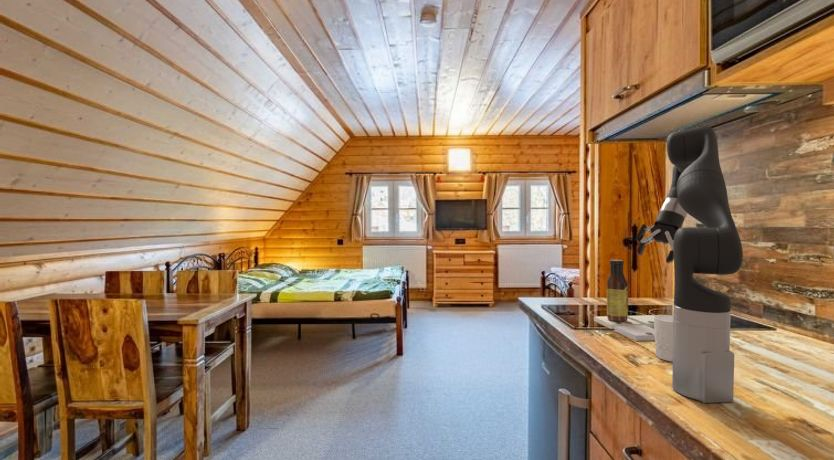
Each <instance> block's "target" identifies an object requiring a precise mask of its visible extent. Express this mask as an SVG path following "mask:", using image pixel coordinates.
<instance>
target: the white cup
mask: <svg viewBox="0 0 834 460" xmlns="http://www.w3.org/2000/svg"><path fill="white" fill-rule="evenodd" d="M673 319H674V315H672V314H656V315H655V316H654V328H653V329H654V335H655V340H654V346H655V356H656V357H657V358H658V359H661V360H662V361H663V360H664V361H666V362H670V363H673Z"/></svg>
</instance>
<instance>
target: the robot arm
mask: <svg viewBox="0 0 834 460" xmlns="http://www.w3.org/2000/svg"><path fill="white" fill-rule="evenodd" d="M718 144H719V143H718V138H717V134H716V132H715V130H714V128H713V127H711V126H709V125H707V126H706V125H705V126H704V125H703V126H697V127H691V128H687V129H683V130H678V131H674V132H672V133H670V134H669V135H668V136H667V140H666V152H667V157H668V160H669V162H670V163H671V164H672V165H673V167H672V173H671V175H672V176H671V177H672V179H671V185H670V189H669V190H668V194H667V196H666V197H665V200H664V202H663V203H662V205H661V207H660V209H659V211H658V214H657V216H656V218H655V221H654V223H653V225H652V226H648V225H646V224H645V223H644V224H643V223H642V224H641V226H640V227H639V228H640V229H639V231H638V233H636V236H635V240H636V242H637V243H639V245H638V246H637V249H636V252H637V254H638V256H642V255H643V254H644V250H645V249H646V245H648V244H650V243H653V242H654V241H655V242H657V243H661V244H665V245H667V244H669V246H670V248H671V249H670V250H669V253H668V254H667V257H666V259H665V261H666V263H667V264H670V263H672V262H673V270H674V274H673V275H674V292H673V293H674V294H673V316H674V319H673V362H672V377H671V378H672V381H671V386H672V387H671V388H672V389H673V390H674V391H675V392H677V393H679V394H680V395H682V396H684V397H688V398H690V399H694V400H697V401H700V402H701V403H703V404H709V403H710V404H713V403H715V404H716V403H732V402H734V394H735V393H734V391H735V390H734V389H735V386H734V385H735V383H734V382H735V352H733V351H731V349H730V345H731V314H732V313H731V312H732V310H731V309H732V308H731V307H732V302H731V298H730V295H729V296H728V294H726V293H723V292H721V291H718V290H715V289H712V288H709V287H707V286H706V285H705V286H704V285H703V284H702V283H700V282H698V281H697V280H696V279H695V278H694V274H700V275H701V274H703V275H718V276H721V275H732V274H734V275H735V274H736V273H738V272H739V270H741V269H740V268H741V267H742V265H743V260H744V259H743V258H744V253H743V246H742V240H741V238H740V234H739V231H738V229H737V227H736V224H735V221H734V218H733V215H732V213H731V209H730V205H729V204H730V203H729V197H728V190H727V185H726V180H725V178H724V174H723V172H722V171H723V170H722V167H721V164H720V156H719V145H718ZM687 215H689V216H690V217H692V218H694V219H695V220H696V221H698V222H699V223H701V224H702V225H703V226H705V227H702V226H701V227H699V226H698V227H695V226H693V227H690V226H689V227H682V226H683V225H684V222H685V220H686V218H687ZM649 231H650V233H649V234H648V235H646V236H645V234H646V233H648V232H649ZM644 236H645V237H644Z"/></svg>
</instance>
